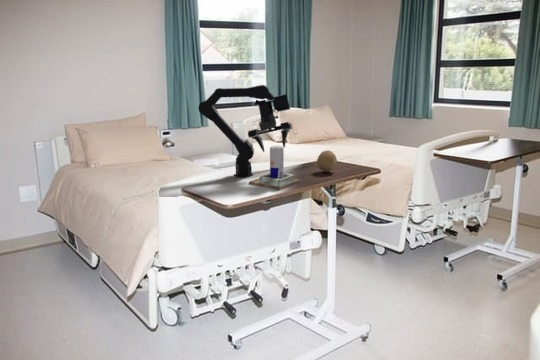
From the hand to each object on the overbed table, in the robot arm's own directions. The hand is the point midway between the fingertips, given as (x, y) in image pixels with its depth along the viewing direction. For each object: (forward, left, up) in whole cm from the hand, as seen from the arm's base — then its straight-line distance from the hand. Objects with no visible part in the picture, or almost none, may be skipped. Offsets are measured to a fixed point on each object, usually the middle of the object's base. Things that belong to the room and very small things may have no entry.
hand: (273, 149), depth 208 cm
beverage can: (+8, -9, -12) cm, 17 cm away
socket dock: (+5, -7, -12) cm, 15 cm away
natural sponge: (+14, +22, -13) cm, 29 cm away
